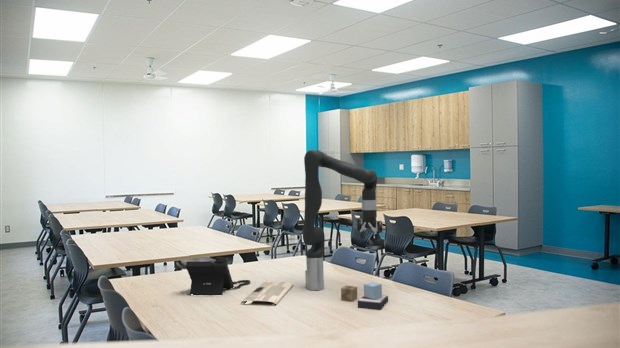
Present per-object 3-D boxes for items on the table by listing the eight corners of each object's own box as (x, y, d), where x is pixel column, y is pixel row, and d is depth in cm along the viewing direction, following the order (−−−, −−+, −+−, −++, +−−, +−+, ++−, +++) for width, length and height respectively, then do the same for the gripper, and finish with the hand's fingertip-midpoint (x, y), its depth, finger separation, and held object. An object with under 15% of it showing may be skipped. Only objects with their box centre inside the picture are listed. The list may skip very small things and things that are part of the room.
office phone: (252, 282, 263) (251, 247, 263) (240, 296, 235) (239, 257, 235) (203, 282, 266) (202, 248, 265) (186, 296, 237) (184, 258, 237)
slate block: (364, 296, 216) (363, 284, 215) (372, 294, 220) (372, 281, 219) (373, 299, 211) (373, 286, 211) (381, 296, 215) (381, 284, 215)
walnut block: (341, 300, 223) (340, 288, 223) (346, 297, 228) (346, 285, 228) (352, 302, 220) (352, 289, 220) (357, 298, 225) (356, 286, 225)
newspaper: (263, 285, 256) (263, 280, 256) (296, 286, 252) (296, 281, 252) (241, 305, 220) (240, 299, 220) (279, 307, 216) (279, 301, 216)
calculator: (388, 294, 220) (380, 301, 206) (388, 303, 220) (380, 311, 206) (366, 292, 225) (357, 299, 211) (366, 301, 224) (357, 308, 211)
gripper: (353, 208, 233) (354, 239, 234) (376, 210, 223) (376, 242, 224) (362, 207, 239) (363, 237, 239) (384, 208, 229) (385, 240, 229)
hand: (369, 240), depth 231 cm, fingers open, 8 cm apart
